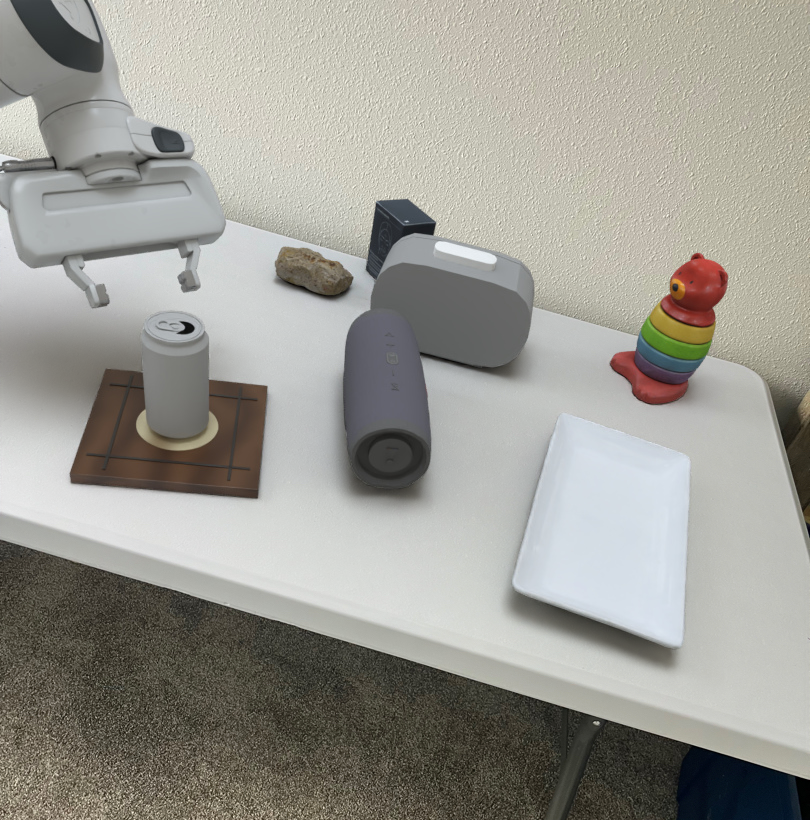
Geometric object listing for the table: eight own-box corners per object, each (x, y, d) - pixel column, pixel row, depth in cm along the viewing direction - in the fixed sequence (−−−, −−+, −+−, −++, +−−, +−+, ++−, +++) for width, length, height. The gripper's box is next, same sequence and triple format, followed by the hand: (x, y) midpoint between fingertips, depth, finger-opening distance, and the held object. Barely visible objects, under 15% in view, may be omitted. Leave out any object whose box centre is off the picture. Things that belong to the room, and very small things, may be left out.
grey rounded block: (518, 344, 110) (547, 254, 101) (513, 380, 104) (544, 287, 94) (377, 308, 110) (393, 214, 101) (363, 341, 104) (379, 245, 94)
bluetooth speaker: (425, 502, 84) (446, 428, 77) (339, 494, 82) (351, 418, 75) (410, 379, 99) (426, 309, 92) (337, 371, 98) (347, 298, 91)
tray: (681, 474, 96) (694, 452, 93) (669, 670, 73) (686, 648, 71) (550, 430, 97) (559, 408, 95) (499, 610, 75) (509, 586, 72)
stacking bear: (604, 359, 112) (654, 240, 99) (662, 358, 115) (718, 242, 103) (641, 405, 105) (700, 283, 93) (702, 402, 108) (767, 284, 96)
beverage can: (205, 446, 82) (206, 347, 73) (141, 440, 80) (134, 339, 72) (211, 409, 86) (212, 311, 78) (150, 403, 85) (145, 303, 76)
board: (70, 482, 76) (68, 472, 75) (106, 376, 89) (105, 366, 88) (257, 498, 79) (258, 489, 78) (267, 394, 92) (267, 384, 91)
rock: (338, 305, 109) (342, 276, 106) (264, 281, 110) (266, 252, 107) (355, 282, 114) (360, 254, 111) (284, 259, 115) (287, 231, 112)
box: (423, 291, 116) (437, 221, 109) (390, 295, 114) (403, 224, 106) (396, 265, 120) (408, 196, 113) (364, 269, 118) (375, 199, 110)
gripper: (-13, 146, 67) (45, 306, 69) (206, 134, 78) (250, 272, 80) (-21, 177, 72) (34, 325, 74) (185, 161, 83) (227, 291, 85)
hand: (148, 298), depth 77 cm, fingers open, 8 cm apart
